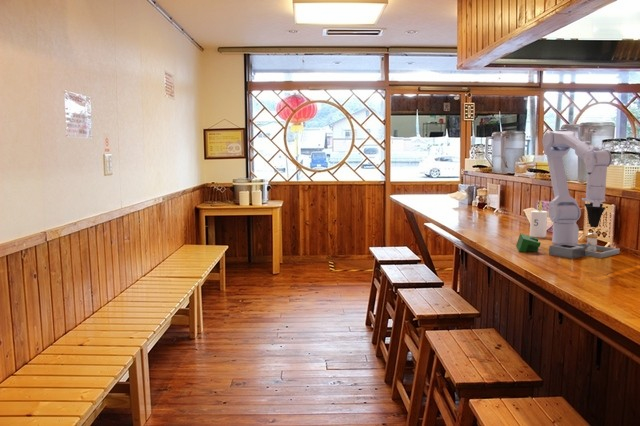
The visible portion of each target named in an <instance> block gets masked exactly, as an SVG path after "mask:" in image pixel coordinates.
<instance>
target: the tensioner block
mask: <svg viewBox="0 0 640 426" xmlns="http://www.w3.org/2000/svg"><path fill="white" fill-rule="evenodd" d="M548 248H549V249H548V255H549V256H556V257H559V258H566V259H572V260H573V259H577V258H582V257H585V256H586V255H585V250H586V248H585V247H583V246H577V245H573V244H572V245H571V244H565V243H561V244H551V245H549V246H548Z"/></svg>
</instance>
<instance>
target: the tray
mask: <svg viewBox="0 0 640 426" xmlns="http://www.w3.org/2000/svg"><path fill="white" fill-rule="evenodd" d="M577 246H583V247H585V256H586V257H591V258H598V259H603V258H606V257H610V256H615V255H619V254H620V248H616V247H610V246H602V245H597V248H596V252H592V251H586V248H587V243H583V242H582V243H578V244H577ZM598 251H600V252H598Z"/></svg>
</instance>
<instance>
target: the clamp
mask: <svg viewBox="0 0 640 426" xmlns="http://www.w3.org/2000/svg"><path fill="white" fill-rule="evenodd" d="M541 244H542V243H541V241H539V239H538V237H532V236H530V235H528V234H524V233H520V234H519V236H518V239H517V241H516V245H515V247H516V249H517V251H518V253H526V252H538V250H539V248H540V246H541Z"/></svg>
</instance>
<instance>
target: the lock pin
mask: <svg viewBox="0 0 640 426" xmlns="http://www.w3.org/2000/svg"><path fill="white" fill-rule="evenodd" d="M586 238H587V239H586V244H587V248H585V250H586V251H592V252H597V250H596V248H597V246H598V233H596V232H587V235H586Z"/></svg>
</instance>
